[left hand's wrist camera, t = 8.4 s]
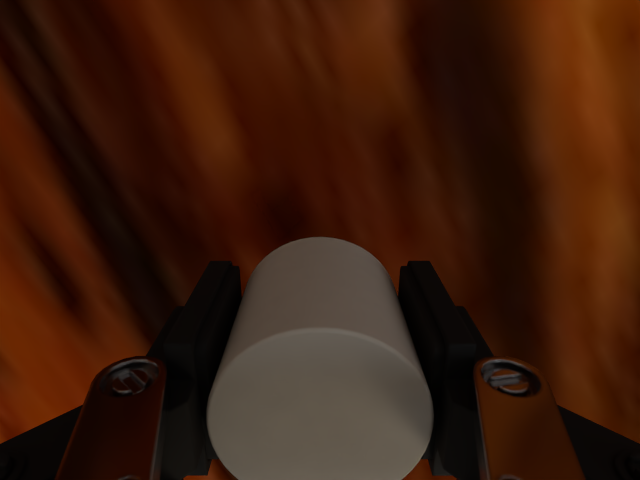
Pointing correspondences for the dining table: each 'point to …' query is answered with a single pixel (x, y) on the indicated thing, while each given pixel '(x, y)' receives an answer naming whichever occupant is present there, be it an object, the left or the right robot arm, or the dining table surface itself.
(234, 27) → the dining table surface
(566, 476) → the left robot arm
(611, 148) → the dining table surface
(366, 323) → the canister
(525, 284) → the dining table surface
